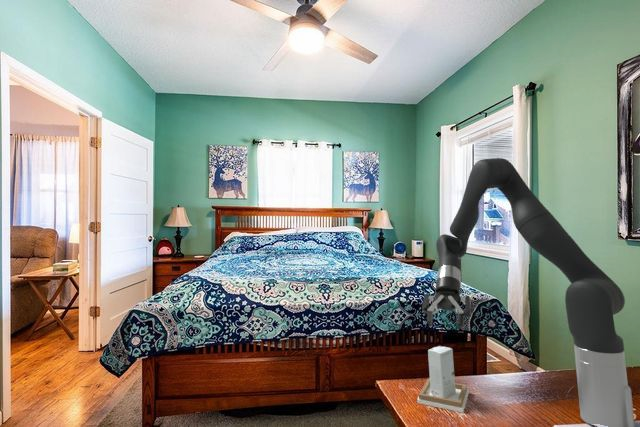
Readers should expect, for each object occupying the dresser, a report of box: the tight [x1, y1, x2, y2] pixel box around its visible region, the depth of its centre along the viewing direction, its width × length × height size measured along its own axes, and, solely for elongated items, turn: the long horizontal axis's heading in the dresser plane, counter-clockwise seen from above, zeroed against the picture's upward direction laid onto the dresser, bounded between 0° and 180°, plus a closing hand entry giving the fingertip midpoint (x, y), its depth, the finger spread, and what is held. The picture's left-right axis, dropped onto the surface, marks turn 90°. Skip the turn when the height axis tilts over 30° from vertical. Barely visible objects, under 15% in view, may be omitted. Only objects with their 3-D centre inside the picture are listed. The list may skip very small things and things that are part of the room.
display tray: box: [417, 377, 470, 414], centre depth 93 cm, size 12×12×2 cm
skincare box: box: [427, 345, 456, 398], centre depth 94 cm, size 6×4×12 cm
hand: (444, 325), depth 101 cm, fingers open, 8 cm apart
